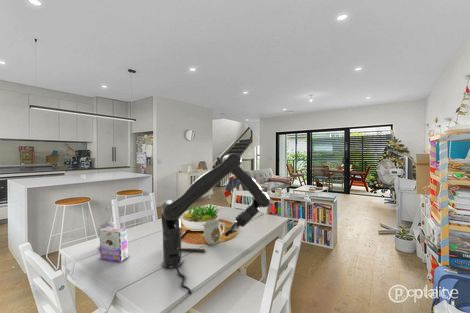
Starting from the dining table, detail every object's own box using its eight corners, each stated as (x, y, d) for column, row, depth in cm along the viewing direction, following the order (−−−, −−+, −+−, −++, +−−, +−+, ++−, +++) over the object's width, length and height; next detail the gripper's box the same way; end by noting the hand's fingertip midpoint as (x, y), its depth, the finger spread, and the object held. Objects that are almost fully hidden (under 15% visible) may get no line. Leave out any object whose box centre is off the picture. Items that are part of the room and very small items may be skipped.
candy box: (128, 257, 122) (127, 228, 121) (120, 262, 116) (119, 232, 116) (108, 254, 126) (107, 225, 125) (99, 259, 120) (98, 229, 119)
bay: (215, 232, 155) (215, 230, 155) (204, 252, 127) (204, 250, 127) (186, 231, 159) (186, 229, 159) (168, 249, 130) (168, 247, 130)
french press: (109, 251, 129) (108, 209, 128) (92, 249, 131) (91, 208, 130) (121, 243, 139) (120, 205, 137) (105, 242, 141) (104, 204, 140)
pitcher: (229, 240, 142) (229, 220, 142) (206, 249, 131) (206, 226, 130) (220, 235, 151) (220, 216, 150) (197, 243, 139) (196, 221, 139)
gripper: (241, 209, 144) (223, 227, 146) (238, 216, 131) (219, 235, 133) (249, 218, 143) (231, 235, 146) (247, 225, 130) (227, 244, 133)
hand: (225, 235), depth 139 cm, fingers closed
